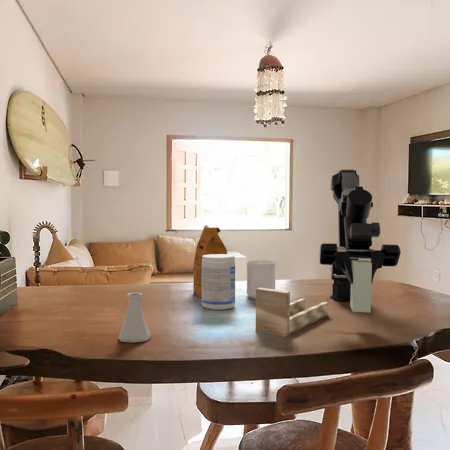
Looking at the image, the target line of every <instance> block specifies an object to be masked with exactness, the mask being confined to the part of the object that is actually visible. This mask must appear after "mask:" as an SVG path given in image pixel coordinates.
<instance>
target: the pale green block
mask: <svg viewBox="0 0 450 450" xmlns="http://www.w3.org/2000/svg"><path fill="white" fill-rule="evenodd" d="M370 261H371V260H370V259H359V260H351V269H352V274H353V284H351V298H350V301H349V302H350V305H349V306H350V309H351V311H352V312H354V313H372V312H371V310H372V308H371V307H372V284H371V278H372V263H371V262H370Z"/></svg>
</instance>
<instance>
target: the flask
mask: <svg viewBox="0 0 450 450" xmlns="http://www.w3.org/2000/svg"><path fill="white" fill-rule="evenodd" d="M126 296H127V297H128V304H127V311H126V315H125V317H124V320H123V324H122V327H121V329H120V332H119V335H118V340H119V341H120V342H123V343H132V344H134V343H141V342H148V341H149V340H150V339H151V338H152V335H151V332H150V328H149V327H148V324H147V321H146V319H145V316H144V312H143V308H142V296H143V294H142V293H141V292H129V293H127V295H126Z"/></svg>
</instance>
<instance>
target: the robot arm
mask: <svg viewBox="0 0 450 450" xmlns="http://www.w3.org/2000/svg"><path fill="white" fill-rule="evenodd" d="M330 191H331V192H332V197H333V199H334V201H335V202H336V204H337V216H338V217H337V219H338V220H337V222H338V223H337V225H338V226H337V227H338V229H337V230H338V235H337V236H338V243H335V242H334V243H330V242H329V243H328V242H322V243H321V244H320V246H319V248H320V249H319V264H320V265H324V266H330V280H331V281H333V283H332V294H331V295H329V296H330V298H331V299H334V300H338V301H340V302H348V301H349V302H350V298H351V284H353V274H352V269H351V260H369V261H370V262H371V263H372V278H371V285H373V283H374V282H373V281H374V279H375V274H376V272H377V270H378V269H381V268H383V267H397V266H398V264H399V259H400V256H401V254H402V253H401V247H400V246H399V245H398V244H386V243H385V244H384V243H383V244H382V245H381V247H380V250H379V249H377V250H376V249H372V248H371V247H373V241H372V239H373V238H378V237H380V234H381V225H380V222H373V221H372V222H371V223H368V221H367V219H368V218H369V215H370V212H371V209H372V208H373V207H374V202H372V201H373V195H372V194H371V193H370V191H368V190H366V189H364V186H360V175H359V174H357V170H355V169H354V168H353V169H346V168H345V169H339V171H338V172H337V173H334V174H333V175H332V176H331V180H330Z"/></svg>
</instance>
